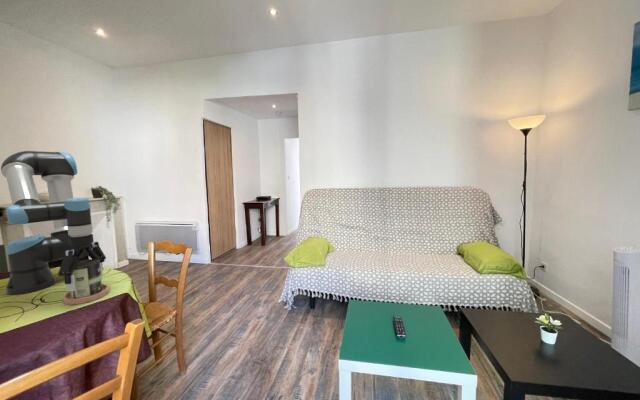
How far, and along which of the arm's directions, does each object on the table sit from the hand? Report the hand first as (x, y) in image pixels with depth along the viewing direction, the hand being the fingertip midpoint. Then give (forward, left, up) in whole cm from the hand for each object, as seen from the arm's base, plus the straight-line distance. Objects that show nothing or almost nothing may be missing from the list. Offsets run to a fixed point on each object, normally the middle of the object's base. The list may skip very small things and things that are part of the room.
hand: (86, 283), depth 109 cm
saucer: (0, 0, -6) cm, 6 cm away
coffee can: (0, 0, -5) cm, 5 cm away
